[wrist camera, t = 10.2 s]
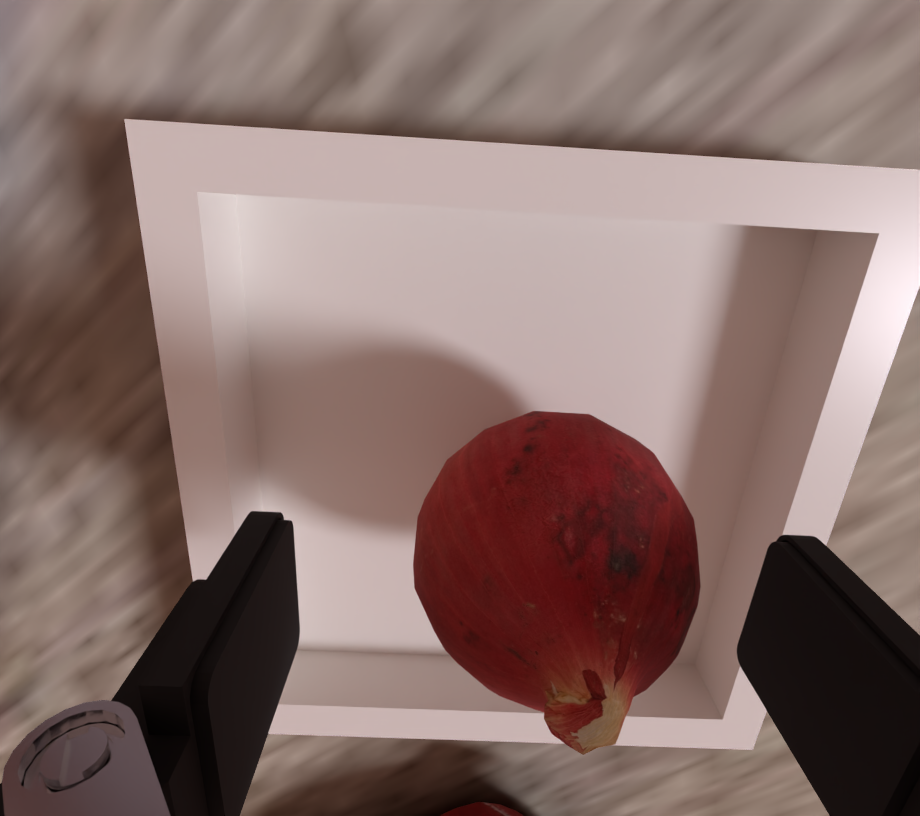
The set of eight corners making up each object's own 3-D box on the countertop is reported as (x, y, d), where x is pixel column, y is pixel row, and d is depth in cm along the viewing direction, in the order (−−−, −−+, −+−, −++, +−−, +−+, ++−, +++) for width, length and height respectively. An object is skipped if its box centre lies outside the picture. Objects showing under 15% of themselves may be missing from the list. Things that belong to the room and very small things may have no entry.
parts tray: (195, 134, 13) (124, 118, 10) (855, 176, 13) (960, 172, 11) (250, 651, 19) (215, 731, 16) (709, 669, 19) (752, 749, 17)
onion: (486, 330, 14) (536, 486, 6) (672, 427, 15) (903, 658, 7) (387, 509, 16) (334, 797, 8) (560, 585, 17) (653, 900, 9)
